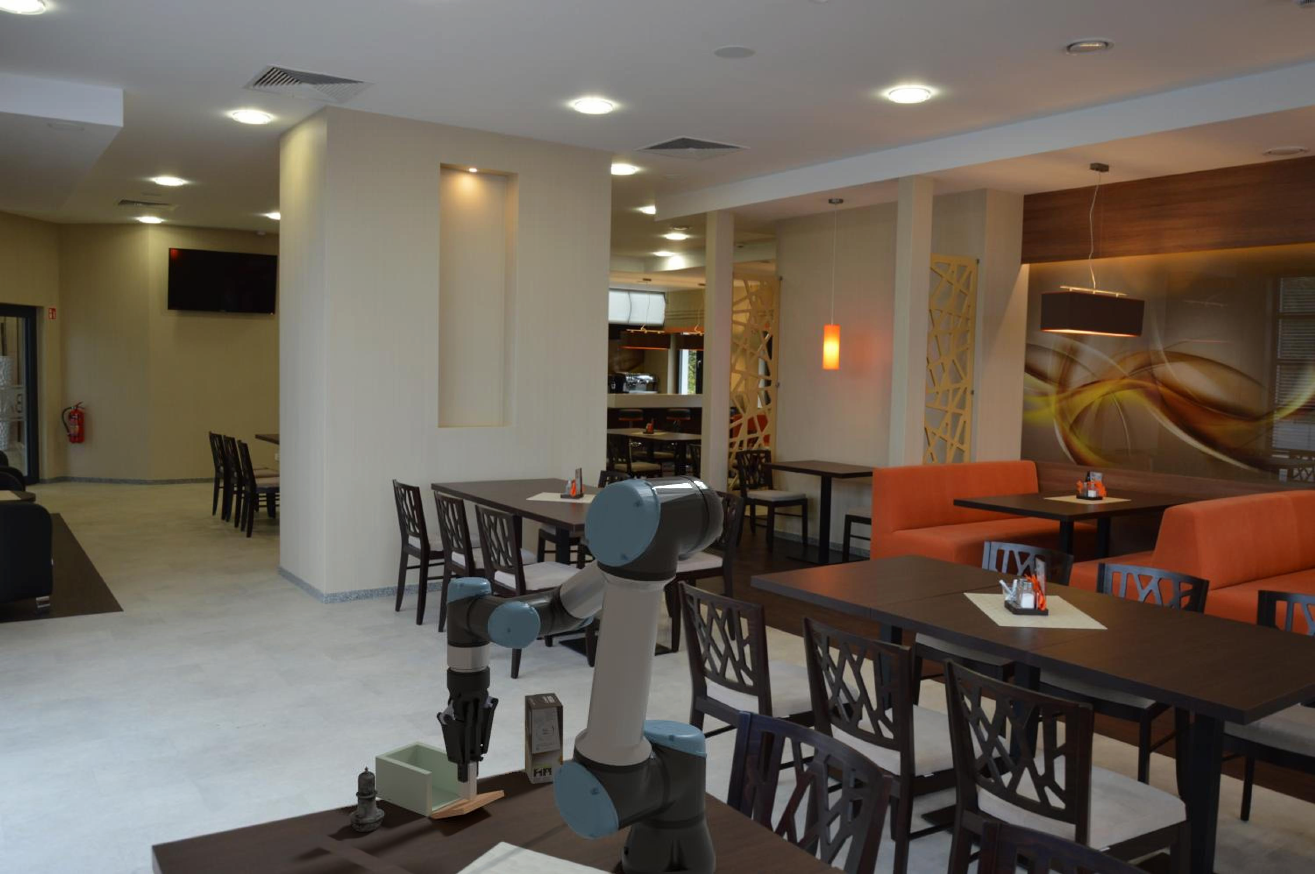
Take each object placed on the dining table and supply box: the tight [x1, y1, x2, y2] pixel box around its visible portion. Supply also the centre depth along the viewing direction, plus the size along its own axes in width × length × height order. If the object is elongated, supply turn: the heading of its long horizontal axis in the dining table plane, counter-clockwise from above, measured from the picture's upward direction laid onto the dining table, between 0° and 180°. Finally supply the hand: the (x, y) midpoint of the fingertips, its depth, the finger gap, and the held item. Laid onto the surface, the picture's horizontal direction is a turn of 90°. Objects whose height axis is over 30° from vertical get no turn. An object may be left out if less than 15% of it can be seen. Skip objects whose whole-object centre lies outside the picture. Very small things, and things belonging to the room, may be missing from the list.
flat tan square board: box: [429, 789, 505, 820], centre depth 176 cm, size 1×10×9 cm
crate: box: [374, 741, 464, 817], centre depth 183 cm, size 14×10×9 cm
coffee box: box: [524, 692, 564, 785], centre depth 195 cm, size 9×6×16 cm
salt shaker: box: [348, 766, 385, 833], centre depth 170 cm, size 6×6×12 cm
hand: (468, 797), depth 176 cm, fingers closed
